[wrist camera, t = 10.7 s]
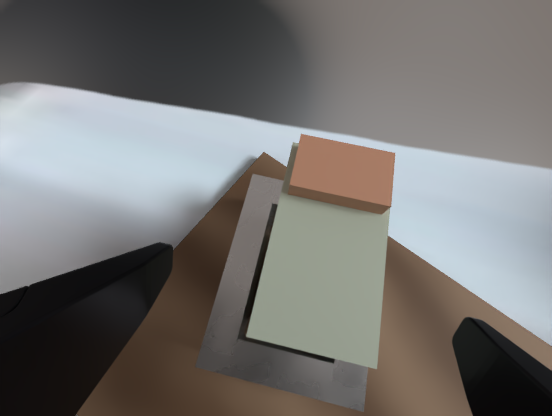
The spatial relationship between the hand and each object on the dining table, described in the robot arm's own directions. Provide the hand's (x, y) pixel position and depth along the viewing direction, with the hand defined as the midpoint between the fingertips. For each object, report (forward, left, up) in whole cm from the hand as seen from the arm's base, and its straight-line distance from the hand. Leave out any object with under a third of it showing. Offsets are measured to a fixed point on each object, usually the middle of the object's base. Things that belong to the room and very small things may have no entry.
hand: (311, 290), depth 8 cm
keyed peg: (+1, +1, -9) cm, 9 cm away
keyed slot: (+1, +1, -9) cm, 9 cm away
